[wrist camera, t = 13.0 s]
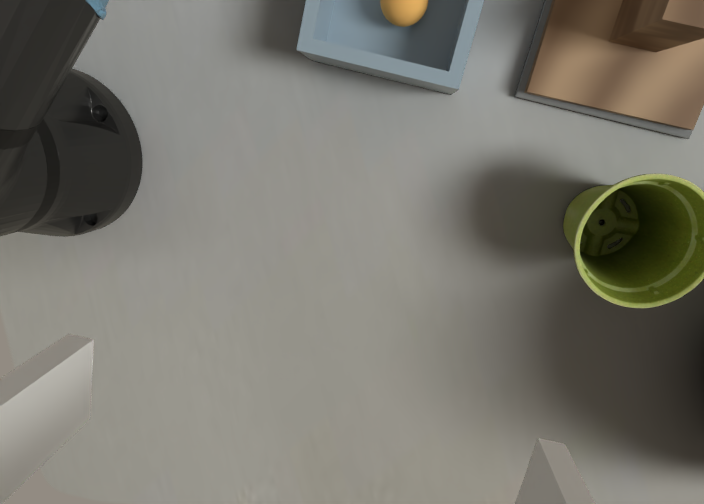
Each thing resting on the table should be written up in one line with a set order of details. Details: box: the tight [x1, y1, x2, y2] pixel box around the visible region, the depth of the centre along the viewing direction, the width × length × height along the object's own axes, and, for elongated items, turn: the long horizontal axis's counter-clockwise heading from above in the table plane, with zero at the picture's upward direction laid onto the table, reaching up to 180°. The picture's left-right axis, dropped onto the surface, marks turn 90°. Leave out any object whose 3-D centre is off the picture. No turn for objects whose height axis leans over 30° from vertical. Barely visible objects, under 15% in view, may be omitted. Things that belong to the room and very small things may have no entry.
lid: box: [524, 0, 704, 130], centre depth 33 cm, size 13×13×9 cm
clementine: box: [380, 0, 428, 27], centre depth 36 cm, size 4×4×4 cm
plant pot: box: [563, 174, 704, 308], centre depth 37 cm, size 9×9×9 cm
